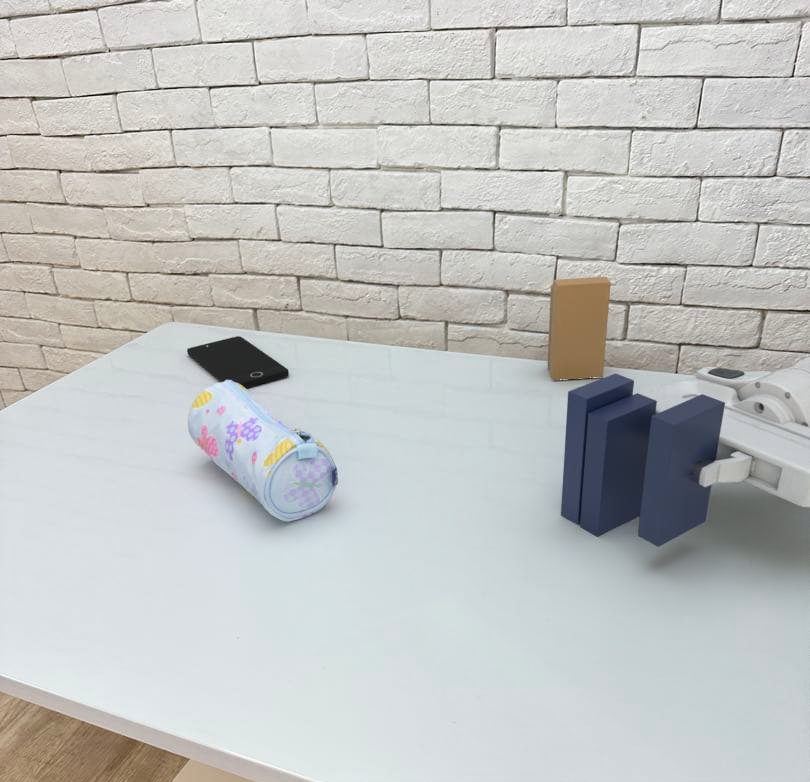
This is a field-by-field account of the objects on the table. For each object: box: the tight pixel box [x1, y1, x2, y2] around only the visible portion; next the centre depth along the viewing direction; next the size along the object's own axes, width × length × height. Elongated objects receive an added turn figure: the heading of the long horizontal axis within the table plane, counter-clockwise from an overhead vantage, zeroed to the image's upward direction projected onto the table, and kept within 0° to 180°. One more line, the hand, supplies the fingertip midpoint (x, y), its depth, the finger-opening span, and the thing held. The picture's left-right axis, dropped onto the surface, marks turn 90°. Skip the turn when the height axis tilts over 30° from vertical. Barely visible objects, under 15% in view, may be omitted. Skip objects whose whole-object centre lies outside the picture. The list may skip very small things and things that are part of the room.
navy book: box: [637, 394, 725, 548], centre depth 75 cm, size 6×2×12 cm, turn 126°
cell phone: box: [186, 335, 290, 389], centre depth 125 cm, size 9×18×1 cm, turn 32°
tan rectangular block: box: [546, 276, 612, 380], centre depth 113 cm, size 7×5×13 cm
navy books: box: [560, 372, 657, 537], centre depth 83 cm, size 7×5×14 cm
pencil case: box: [187, 380, 339, 522], centre depth 93 cm, size 21×9×10 cm, turn 35°
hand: (679, 468), depth 75 cm, fingers closed on navy book, 2 cm apart
